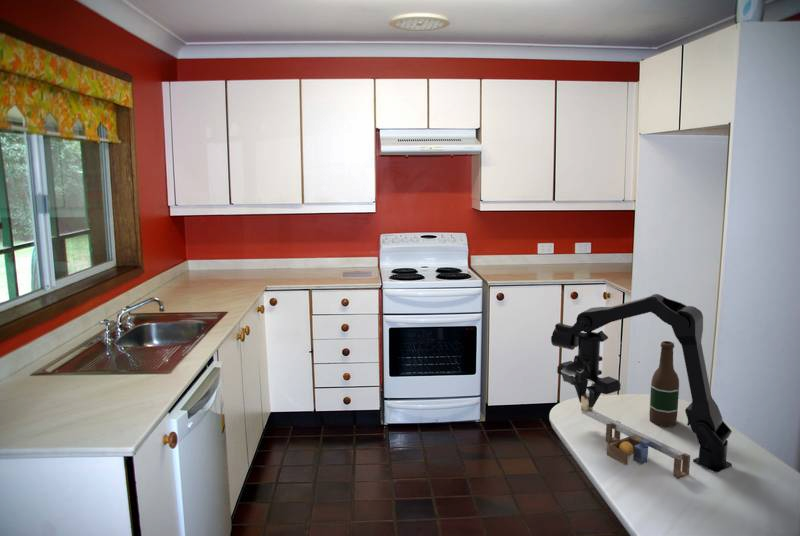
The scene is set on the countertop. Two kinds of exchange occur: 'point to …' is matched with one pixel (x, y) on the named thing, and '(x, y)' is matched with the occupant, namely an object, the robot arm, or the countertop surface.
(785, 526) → the countertop surface
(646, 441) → the rod
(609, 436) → the block
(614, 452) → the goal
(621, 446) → the ball
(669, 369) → the beer bottle
